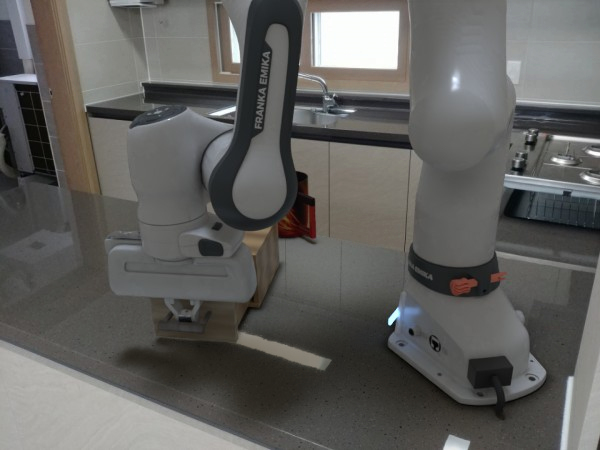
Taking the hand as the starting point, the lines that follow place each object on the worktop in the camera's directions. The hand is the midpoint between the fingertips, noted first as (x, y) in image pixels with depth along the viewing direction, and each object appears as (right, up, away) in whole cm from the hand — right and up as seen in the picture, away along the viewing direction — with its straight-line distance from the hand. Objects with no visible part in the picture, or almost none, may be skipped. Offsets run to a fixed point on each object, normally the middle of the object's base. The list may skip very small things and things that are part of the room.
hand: (188, 322), depth 76 cm
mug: (+15, +12, +42) cm, 46 cm away
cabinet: (+4, +3, +22) cm, 22 cm away
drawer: (+1, -1, +9) cm, 9 cm away
